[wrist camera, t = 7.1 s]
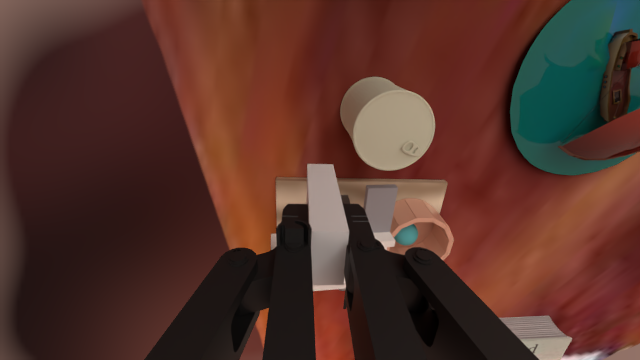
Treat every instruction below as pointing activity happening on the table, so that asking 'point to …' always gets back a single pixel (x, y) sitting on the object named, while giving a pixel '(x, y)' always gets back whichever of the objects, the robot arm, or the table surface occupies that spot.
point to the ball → (407, 235)
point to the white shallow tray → (371, 219)
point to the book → (539, 336)
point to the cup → (421, 227)
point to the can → (387, 123)
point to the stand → (360, 191)
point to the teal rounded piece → (581, 89)
